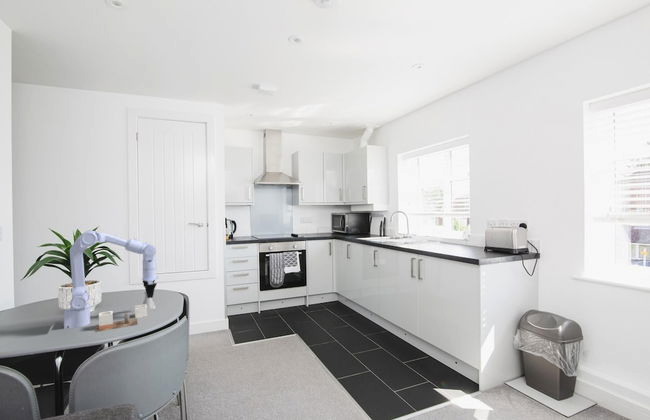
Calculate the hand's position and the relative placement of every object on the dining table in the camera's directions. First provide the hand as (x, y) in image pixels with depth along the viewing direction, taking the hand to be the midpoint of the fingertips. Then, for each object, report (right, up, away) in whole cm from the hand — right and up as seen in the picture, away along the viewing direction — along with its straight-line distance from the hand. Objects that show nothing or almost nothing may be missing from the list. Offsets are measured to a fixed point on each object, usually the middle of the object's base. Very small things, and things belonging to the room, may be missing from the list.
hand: (149, 295), depth 164 cm
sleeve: (-2, -10, -4) cm, 11 cm away
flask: (-5, -10, +9) cm, 14 cm away
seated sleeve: (-10, -9, -18) cm, 22 cm away
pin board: (-6, -10, -16) cm, 20 cm away
